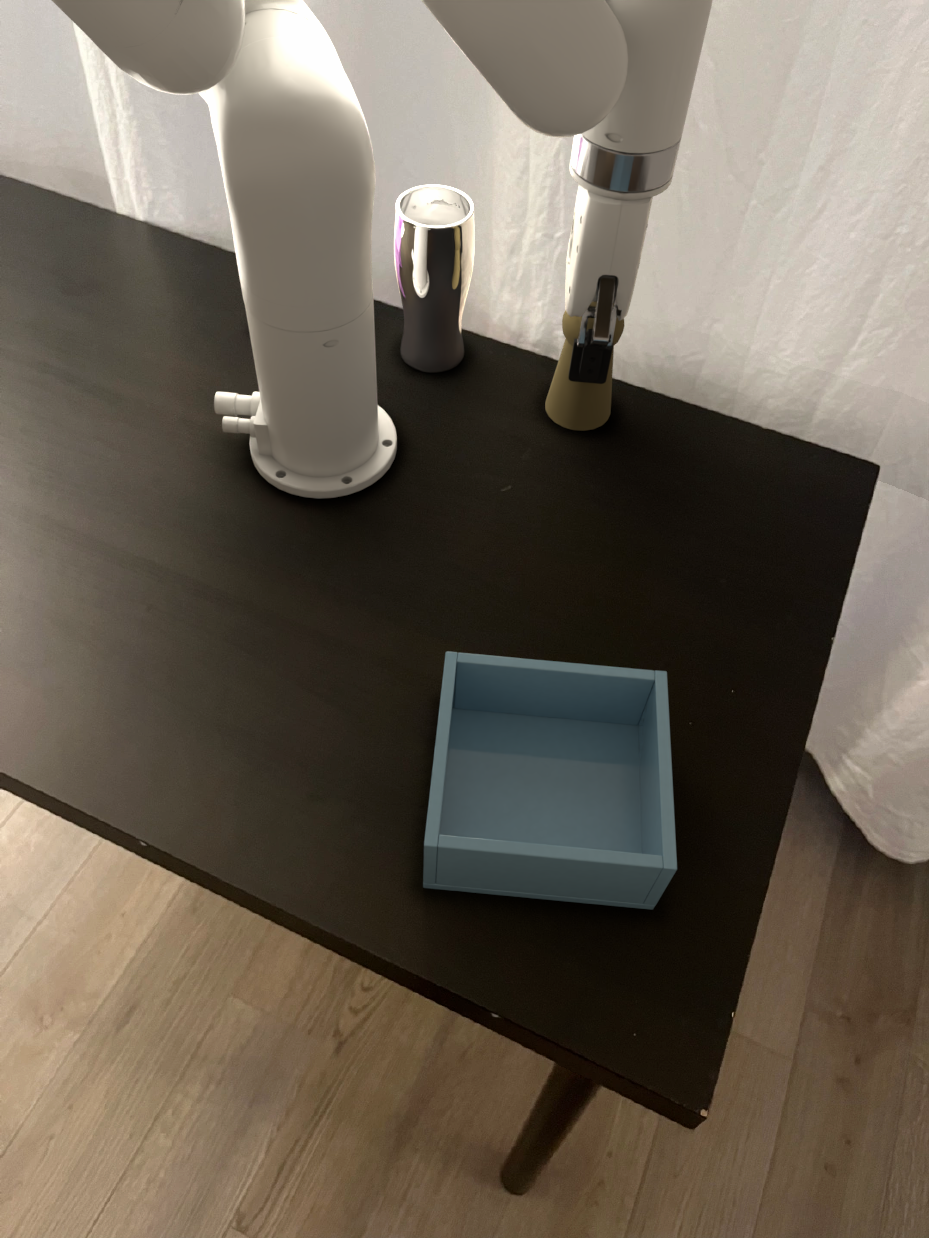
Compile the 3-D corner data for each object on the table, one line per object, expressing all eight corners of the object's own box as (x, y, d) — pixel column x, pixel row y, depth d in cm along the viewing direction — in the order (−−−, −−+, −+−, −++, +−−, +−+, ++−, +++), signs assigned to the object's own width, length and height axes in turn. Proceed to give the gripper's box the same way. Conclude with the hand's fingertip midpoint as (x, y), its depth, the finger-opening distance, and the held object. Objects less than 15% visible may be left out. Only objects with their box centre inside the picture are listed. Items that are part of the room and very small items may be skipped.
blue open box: (422, 888, 60) (423, 845, 55) (442, 704, 68) (445, 650, 63) (653, 910, 60) (677, 869, 55) (646, 722, 68) (667, 671, 63)
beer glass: (443, 386, 88) (447, 239, 76) (381, 358, 90) (376, 210, 78) (482, 347, 92) (492, 200, 80) (422, 321, 94) (423, 174, 82)
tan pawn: (606, 435, 85) (629, 333, 77) (540, 424, 86) (554, 321, 77) (614, 392, 89) (636, 289, 80) (550, 381, 90) (565, 278, 81)
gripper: (573, 91, 73) (546, 295, 88) (569, 214, 63) (540, 421, 78) (670, 99, 73) (627, 302, 88) (682, 224, 63) (632, 429, 78)
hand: (587, 356), depth 83 cm, fingers closed on tan pawn, 5 cm apart
